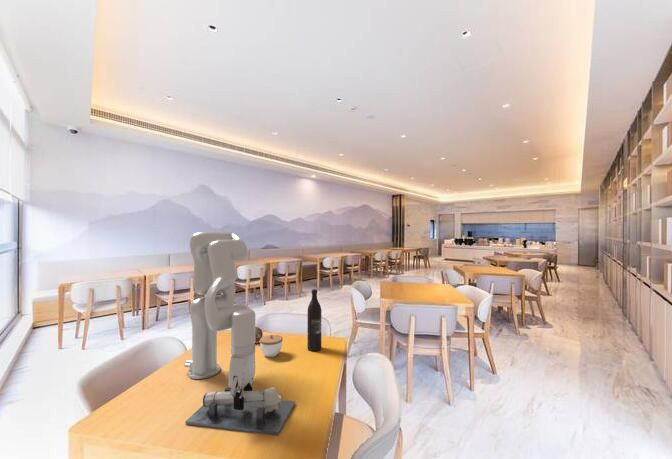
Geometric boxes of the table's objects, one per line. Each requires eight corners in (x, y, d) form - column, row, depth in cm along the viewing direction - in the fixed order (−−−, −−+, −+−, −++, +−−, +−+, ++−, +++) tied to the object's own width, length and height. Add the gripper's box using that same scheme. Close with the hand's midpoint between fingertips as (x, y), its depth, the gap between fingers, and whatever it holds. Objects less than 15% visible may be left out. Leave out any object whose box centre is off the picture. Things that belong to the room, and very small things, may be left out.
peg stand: (185, 424, 91) (185, 408, 91) (215, 396, 107) (215, 382, 107) (278, 435, 86) (278, 418, 86) (295, 404, 102) (295, 389, 102)
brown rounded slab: (234, 342, 159) (234, 327, 159) (237, 340, 162) (237, 325, 162) (260, 344, 156) (261, 328, 156) (263, 342, 159) (263, 326, 159)
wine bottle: (310, 352, 145) (310, 291, 145) (305, 347, 152) (305, 289, 152) (323, 350, 148) (323, 290, 148) (318, 345, 154) (318, 288, 155)
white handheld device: (208, 389, 100) (280, 381, 98) (211, 408, 100) (283, 401, 98) (200, 397, 95) (276, 390, 93) (203, 418, 95) (279, 411, 93)
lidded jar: (256, 354, 144) (256, 334, 144) (275, 348, 151) (275, 329, 151) (267, 361, 136) (267, 340, 136) (286, 354, 143) (286, 335, 143)
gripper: (245, 338, 106) (244, 389, 106) (218, 358, 89) (218, 419, 89) (264, 339, 104) (264, 391, 104) (241, 360, 88) (241, 421, 87)
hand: (243, 403), depth 96 cm, fingers closed on white handheld device, 5 cm apart
